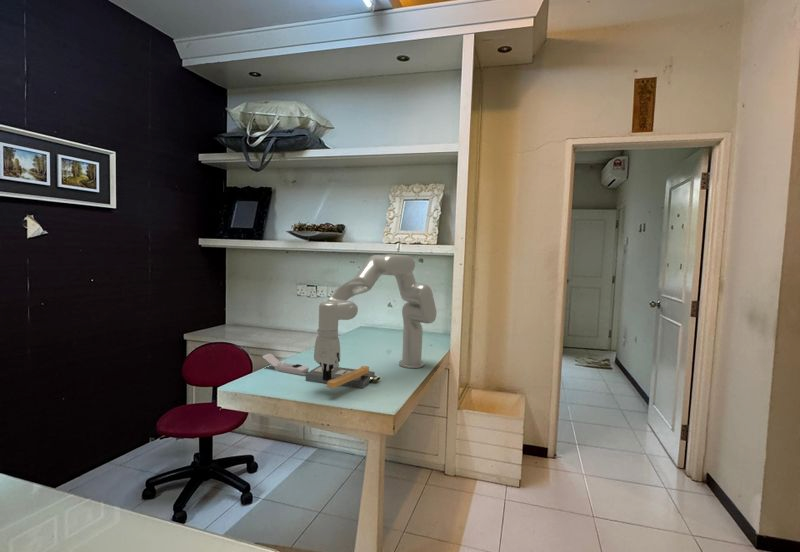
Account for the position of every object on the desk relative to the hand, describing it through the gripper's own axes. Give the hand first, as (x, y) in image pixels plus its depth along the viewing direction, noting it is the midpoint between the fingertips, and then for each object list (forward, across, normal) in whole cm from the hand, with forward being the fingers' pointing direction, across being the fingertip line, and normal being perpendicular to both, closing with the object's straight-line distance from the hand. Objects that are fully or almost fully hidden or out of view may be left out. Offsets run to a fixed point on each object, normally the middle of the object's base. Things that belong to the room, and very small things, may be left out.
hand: (327, 379), depth 158 cm
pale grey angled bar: (+6, -33, +10) cm, 34 cm away
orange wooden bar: (+1, +6, +7) cm, 9 cm away
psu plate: (+5, -5, +15) cm, 17 cm away
